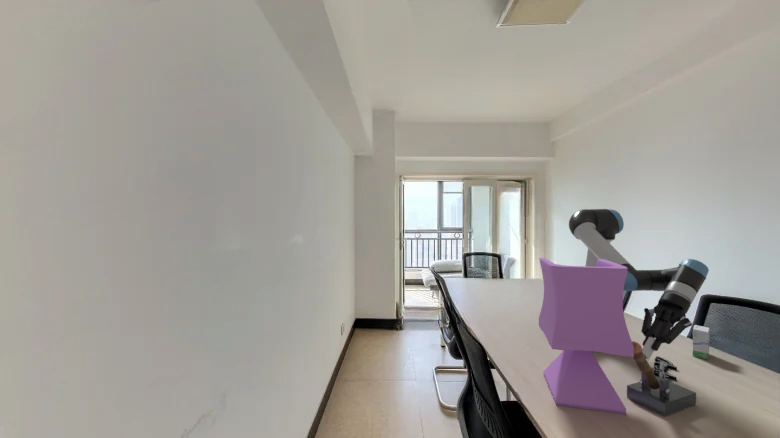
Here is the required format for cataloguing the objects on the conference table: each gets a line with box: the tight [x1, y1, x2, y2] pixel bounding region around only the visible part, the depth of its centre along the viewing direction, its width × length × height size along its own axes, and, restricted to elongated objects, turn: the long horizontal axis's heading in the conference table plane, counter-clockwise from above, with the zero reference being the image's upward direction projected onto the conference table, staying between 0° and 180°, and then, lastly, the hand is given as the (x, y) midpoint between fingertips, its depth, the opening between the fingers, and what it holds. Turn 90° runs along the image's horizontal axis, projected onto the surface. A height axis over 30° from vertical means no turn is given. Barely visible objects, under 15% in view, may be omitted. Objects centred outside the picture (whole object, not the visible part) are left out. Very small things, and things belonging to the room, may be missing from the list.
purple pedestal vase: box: [538, 257, 634, 415], centre depth 110 cm, size 22×22×45 cm
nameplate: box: [651, 355, 678, 382], centre depth 124 cm, size 28×2×10 cm
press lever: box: [631, 340, 660, 389], centre depth 102 cm, size 4×4×19 cm
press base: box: [626, 373, 697, 417], centre depth 105 cm, size 11×16×9 cm
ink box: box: [692, 324, 710, 360], centre depth 139 cm, size 8×5×12 cm, turn 133°
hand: (644, 356), depth 102 cm, fingers closed
